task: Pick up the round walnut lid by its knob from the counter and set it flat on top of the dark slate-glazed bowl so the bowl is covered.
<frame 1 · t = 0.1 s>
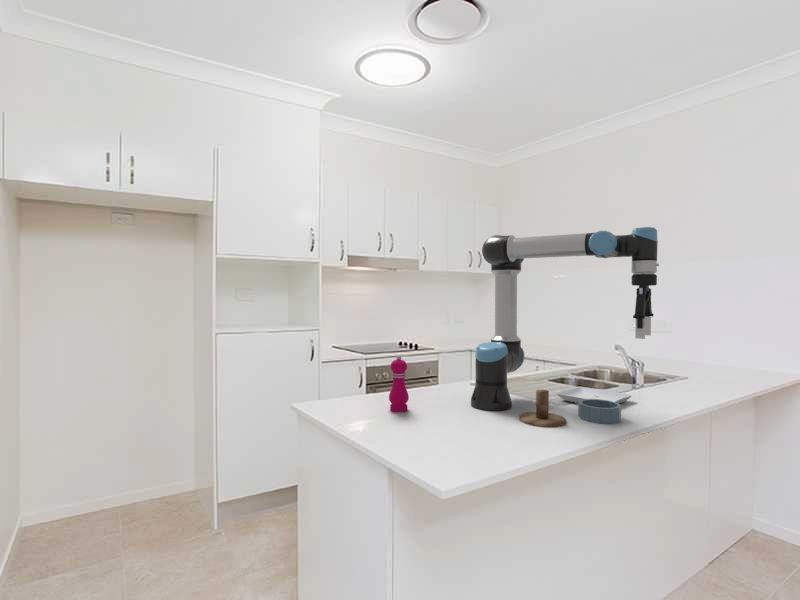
hand: (643, 336, 153), 28 cm above the countertop, fingers open, 13 cm apart
salad plate: (593, 402, 179), on the countertop
pepper mill: (398, 410, 166), on the countertop
bowl: (599, 418, 155), on the countertop
lid: (542, 421, 152), on the countertop
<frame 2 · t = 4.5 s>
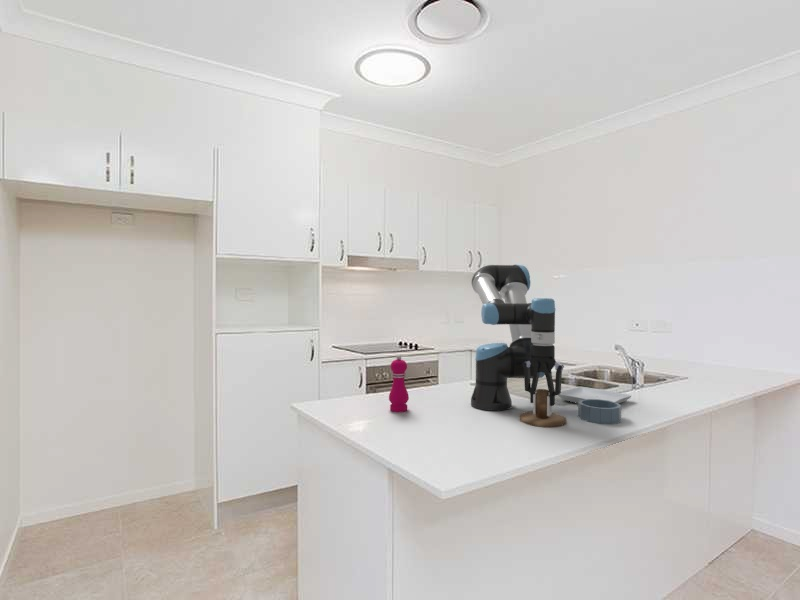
hand: (542, 413, 152), 2 cm above the countertop, fingers closed on lid, 4 cm apart
lid: (542, 420, 152), on the countertop, touching gripper
everything else where it was.
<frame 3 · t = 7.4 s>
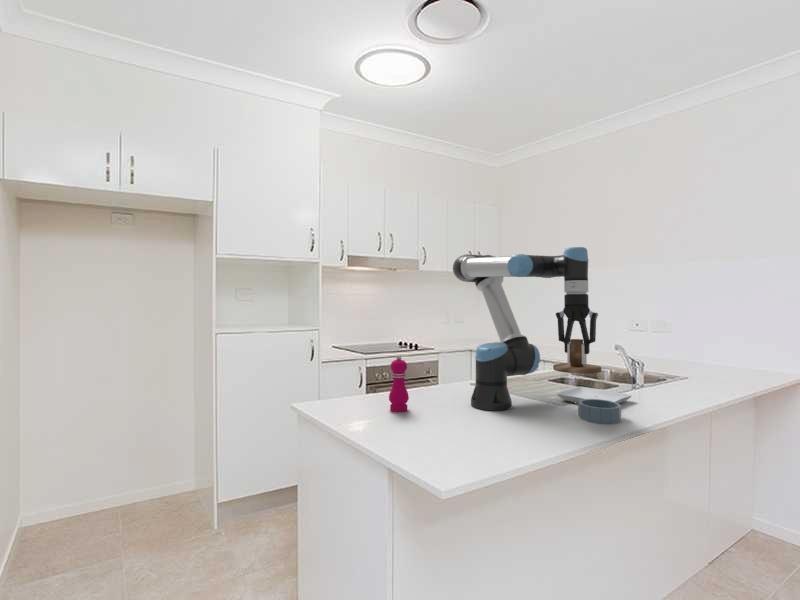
hand: (576, 363, 153), 19 cm above the countertop, fingers closed on lid, 4 cm apart
lid: (576, 369, 153), point 17 cm above the countertop, touching gripper
everything else where it was.
when the fingers open (9 cm above the countertop, at t = 10.4 s): lid drops 2 cm, resting on bowl.
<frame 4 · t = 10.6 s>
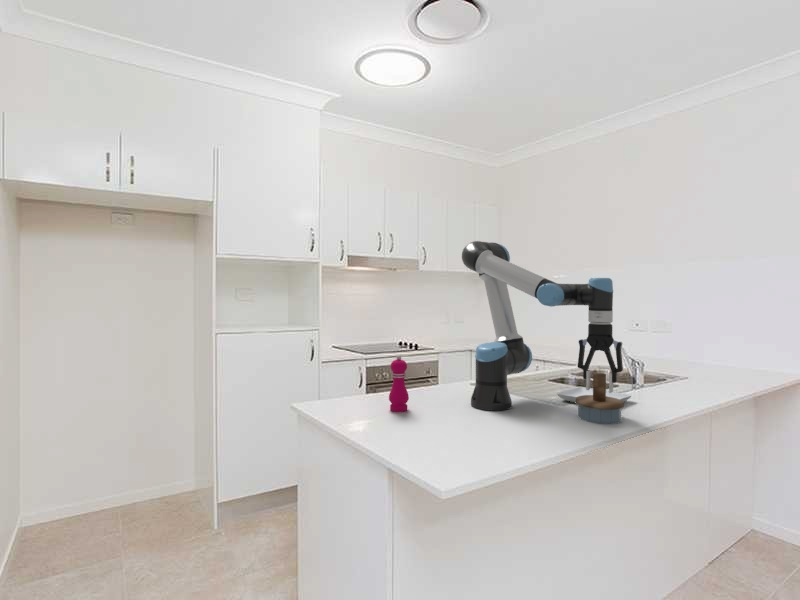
hand: (599, 390, 155), 9 cm above the countertop, fingers open, 7 cm apart
lid: (599, 403, 155), point 5 cm above the countertop, touching bowl
everything else where it was.
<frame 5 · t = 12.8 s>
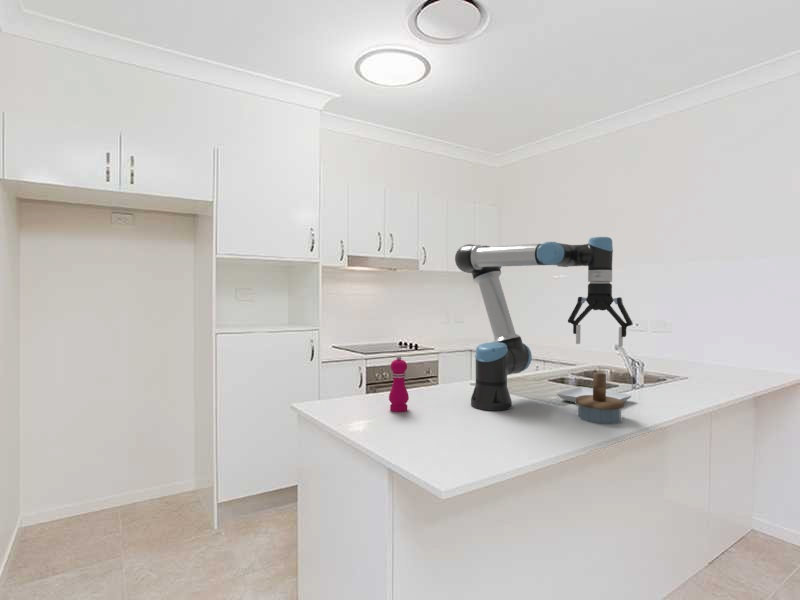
hand: (598, 345, 155), 25 cm above the countertop, fingers open, 13 cm apart
nothing on the countertop moved.
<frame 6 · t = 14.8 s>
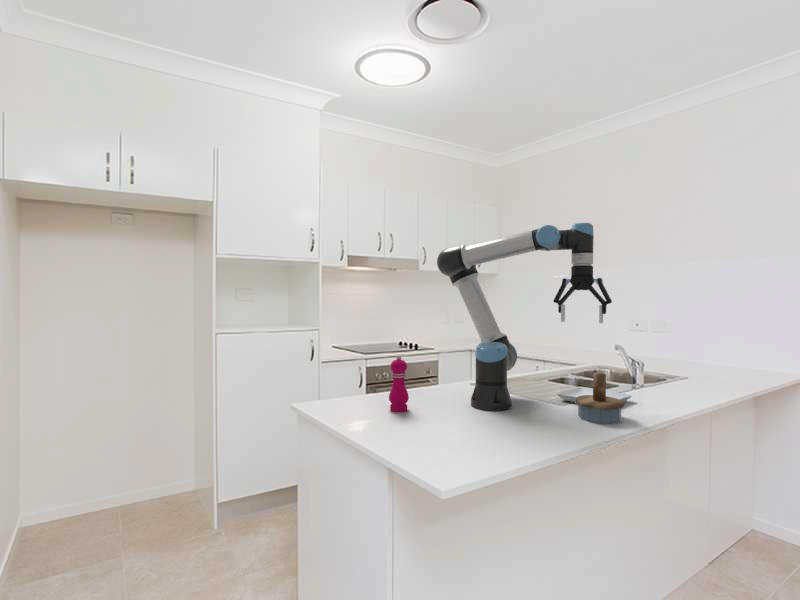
hand: (581, 322, 169), 32 cm above the countertop, fingers open, 13 cm apart
nothing on the countertop moved.
at the end: lid 0.1 cm off-centre on the bowl, point 5.0 cm above the bowl's base; lid tilted 0°; the gripper is holding nothing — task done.
